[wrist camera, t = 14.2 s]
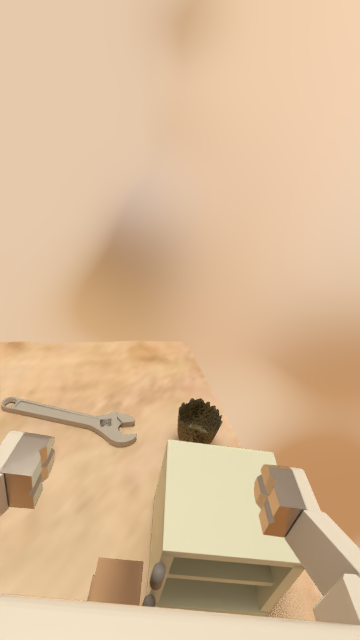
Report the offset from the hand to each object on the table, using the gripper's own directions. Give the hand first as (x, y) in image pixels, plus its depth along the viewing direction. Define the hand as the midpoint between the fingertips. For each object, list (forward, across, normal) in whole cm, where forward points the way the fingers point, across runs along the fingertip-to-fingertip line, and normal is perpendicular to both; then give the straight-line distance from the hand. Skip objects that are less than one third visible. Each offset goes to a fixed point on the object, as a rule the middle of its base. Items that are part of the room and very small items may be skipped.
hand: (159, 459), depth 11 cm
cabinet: (+12, +10, -33) cm, 37 cm away
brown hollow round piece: (+28, +9, -33) cm, 45 cm away
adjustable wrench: (+31, -13, -34) cm, 48 cm away
